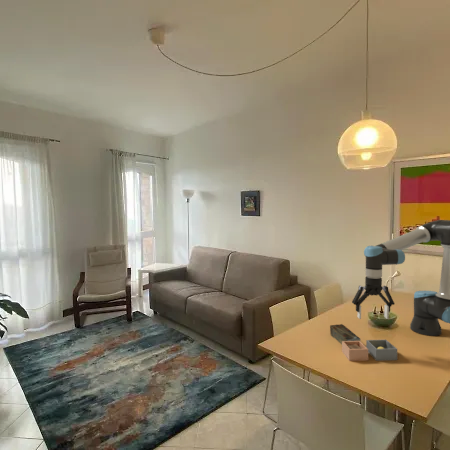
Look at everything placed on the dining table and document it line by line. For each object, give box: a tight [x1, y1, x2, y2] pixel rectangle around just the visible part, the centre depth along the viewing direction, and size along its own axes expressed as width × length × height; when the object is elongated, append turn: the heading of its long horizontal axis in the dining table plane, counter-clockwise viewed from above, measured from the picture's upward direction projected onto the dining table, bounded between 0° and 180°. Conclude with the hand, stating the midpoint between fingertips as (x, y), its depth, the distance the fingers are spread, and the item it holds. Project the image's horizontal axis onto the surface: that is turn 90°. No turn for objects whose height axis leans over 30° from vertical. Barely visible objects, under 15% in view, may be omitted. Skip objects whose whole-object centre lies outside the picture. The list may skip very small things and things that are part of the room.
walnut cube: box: [348, 344, 362, 349], centre depth 148 cm, size 4×4×4 cm
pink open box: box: [341, 340, 369, 362], centre depth 148 cm, size 9×9×6 cm
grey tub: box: [365, 339, 398, 362], centre depth 148 cm, size 10×10×6 cm
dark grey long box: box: [329, 323, 361, 345], centre depth 165 cm, size 8×19×7 cm, turn 7°
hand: (372, 318), depth 154 cm, fingers open, 13 cm apart
